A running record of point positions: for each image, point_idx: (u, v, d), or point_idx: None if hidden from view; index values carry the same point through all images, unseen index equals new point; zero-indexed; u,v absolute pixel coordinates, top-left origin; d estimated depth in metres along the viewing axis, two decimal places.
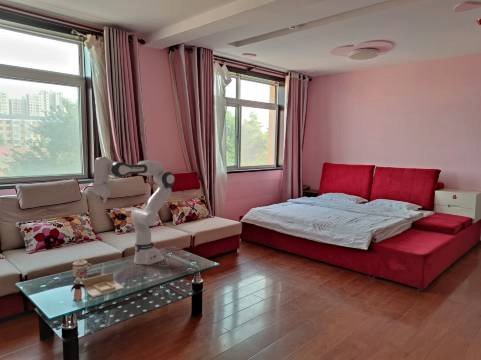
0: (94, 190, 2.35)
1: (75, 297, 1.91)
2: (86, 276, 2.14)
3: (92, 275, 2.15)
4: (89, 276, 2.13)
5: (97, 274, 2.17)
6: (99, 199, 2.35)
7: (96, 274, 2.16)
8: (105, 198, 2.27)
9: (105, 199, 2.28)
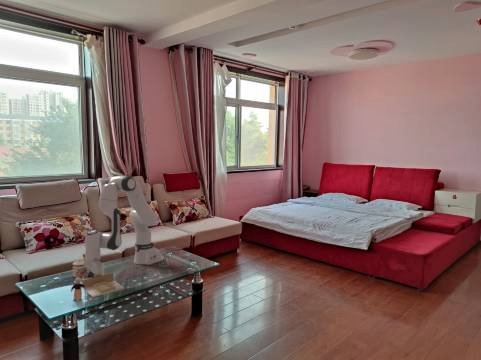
0: (85, 264, 2.20)
1: (75, 297, 1.91)
2: (86, 276, 2.14)
3: (92, 275, 2.15)
4: (89, 276, 2.13)
5: None
6: None
7: None
8: (95, 275, 2.14)
9: None
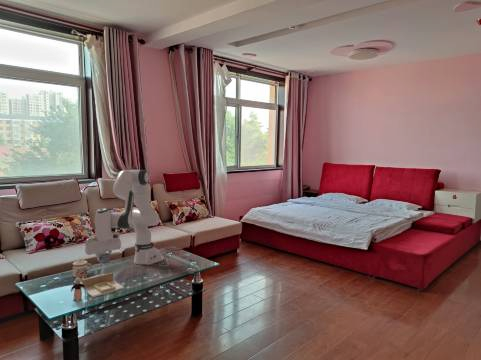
0: None
1: (75, 297, 1.91)
2: None
3: (99, 255, 2.04)
4: None
5: (101, 256, 2.02)
6: None
7: (101, 256, 2.02)
8: (96, 255, 2.01)
9: (97, 256, 2.01)
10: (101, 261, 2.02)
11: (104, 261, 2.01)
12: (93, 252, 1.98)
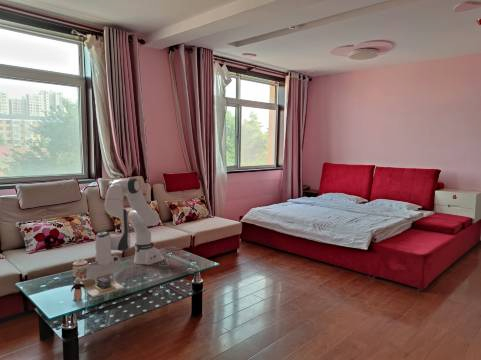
0: None
1: (75, 297, 1.91)
2: None
3: (99, 281, 2.05)
4: None
5: (102, 283, 2.03)
6: (109, 278, 2.08)
7: (101, 282, 2.03)
8: (94, 280, 2.01)
9: (95, 281, 2.01)
10: (102, 288, 2.03)
11: (105, 288, 2.03)
12: (95, 276, 1.99)
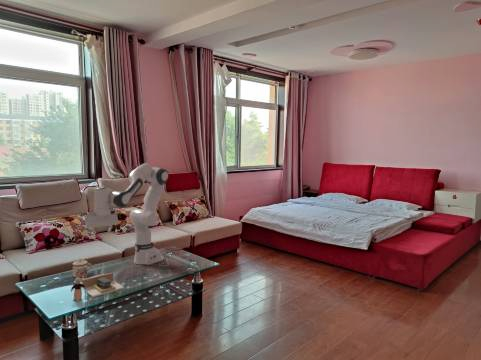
0: None
1: (75, 297, 1.91)
2: None
3: (99, 281, 2.05)
4: (98, 281, 2.06)
5: (102, 283, 2.03)
6: (108, 230, 2.26)
7: (101, 282, 2.03)
8: (92, 229, 2.19)
9: (92, 230, 2.19)
10: (102, 288, 2.03)
11: (105, 288, 2.03)
12: (92, 225, 2.17)
